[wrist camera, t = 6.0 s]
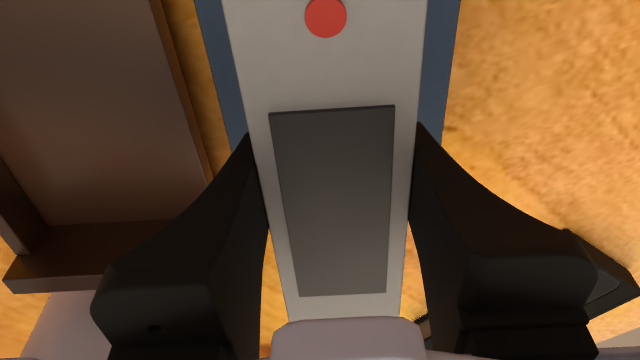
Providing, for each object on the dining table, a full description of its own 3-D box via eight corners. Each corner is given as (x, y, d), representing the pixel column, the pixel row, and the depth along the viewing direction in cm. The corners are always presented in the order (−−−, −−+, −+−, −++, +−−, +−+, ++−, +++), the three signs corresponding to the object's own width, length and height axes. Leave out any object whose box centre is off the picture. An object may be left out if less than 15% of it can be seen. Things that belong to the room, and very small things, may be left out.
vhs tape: (408, 325, 36) (412, 348, 35) (566, 227, 29) (579, 252, 27) (470, 351, 39) (477, 374, 38) (628, 269, 32) (643, 293, 30)
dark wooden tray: (228, 199, 27) (211, 284, 22) (62, 209, 27) (13, 294, 23) (92, -282, 14) (-17, -309, 9) (-230, -251, 14) (-487, -262, 9)
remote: (391, 265, 20) (399, 322, 18) (291, 270, 20) (289, 327, 18) (413, -104, 11) (437, -74, 9) (226, -89, 11) (206, -56, 9)
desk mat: (431, 199, 27) (432, 204, 27) (247, 210, 27) (247, 215, 27) (494, -272, 14) (498, -273, 13) (136, -239, 14) (132, -239, 14)
